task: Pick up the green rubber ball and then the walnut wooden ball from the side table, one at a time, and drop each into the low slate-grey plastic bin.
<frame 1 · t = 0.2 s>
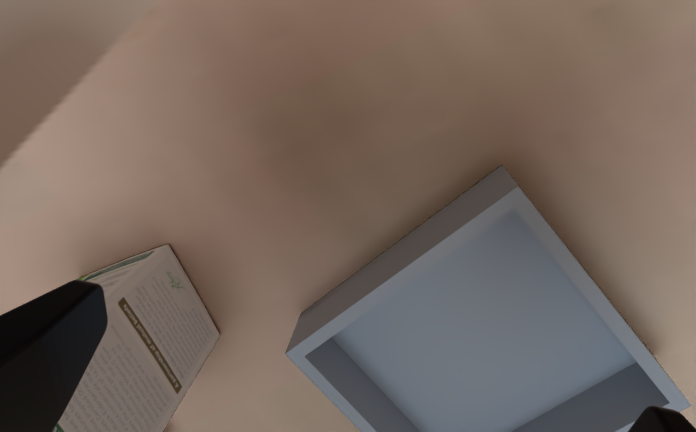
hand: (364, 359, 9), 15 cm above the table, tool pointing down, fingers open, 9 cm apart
bin: (472, 334, 25), on the table
syrup box: (153, 305, 27), on the table
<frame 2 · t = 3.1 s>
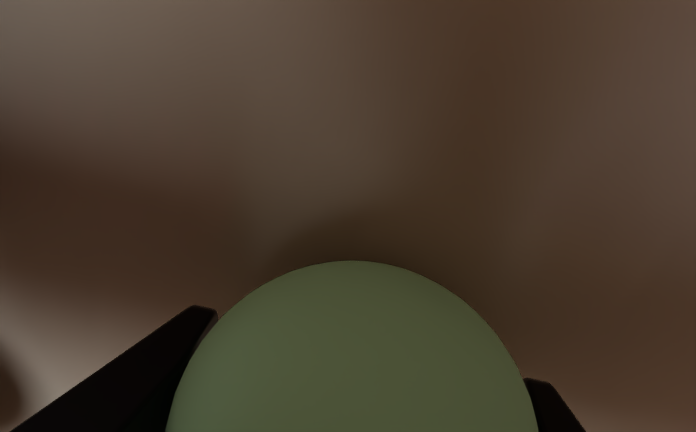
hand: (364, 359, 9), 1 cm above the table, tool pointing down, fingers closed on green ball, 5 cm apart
green ball: (371, 315, 9), on the table, touching gripper
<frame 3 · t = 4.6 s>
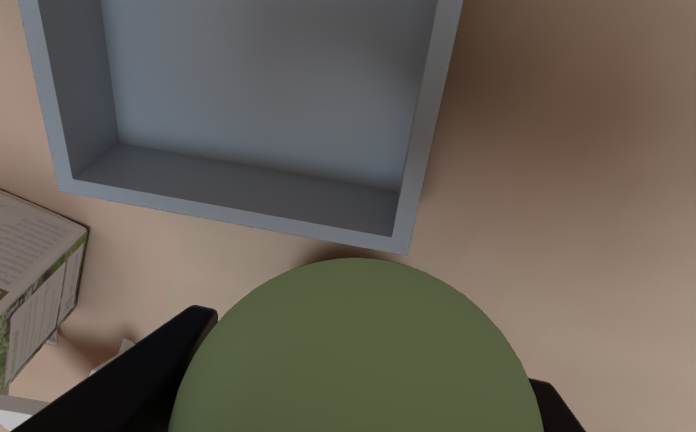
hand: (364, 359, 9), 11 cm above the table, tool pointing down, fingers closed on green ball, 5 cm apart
green ball: (374, 313, 9), point 10 cm above the table, touching gripper
origami figure: (148, 380, 29), on the table
bin: (264, 14, 17), on the table
syrup box: (31, 244, 24), on the table
when the fingers open (5 cm above the table, at t = 6.3 s): green ball drops 3 cm, resting on bin.
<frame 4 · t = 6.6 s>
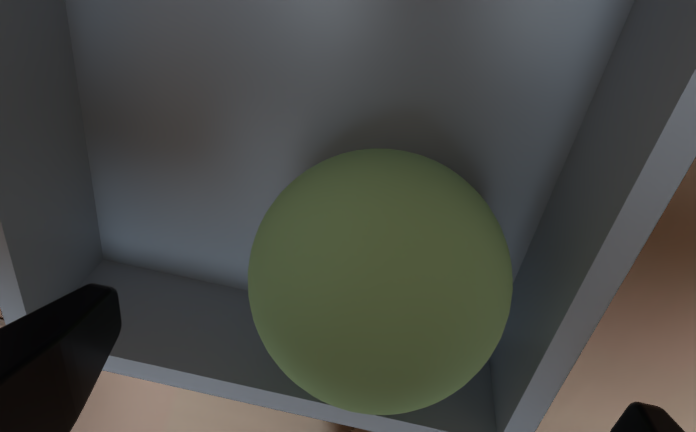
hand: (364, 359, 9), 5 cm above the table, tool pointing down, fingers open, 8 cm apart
green ball: (388, 210, 12), resting on bin
bin: (318, 109, 12), on the table
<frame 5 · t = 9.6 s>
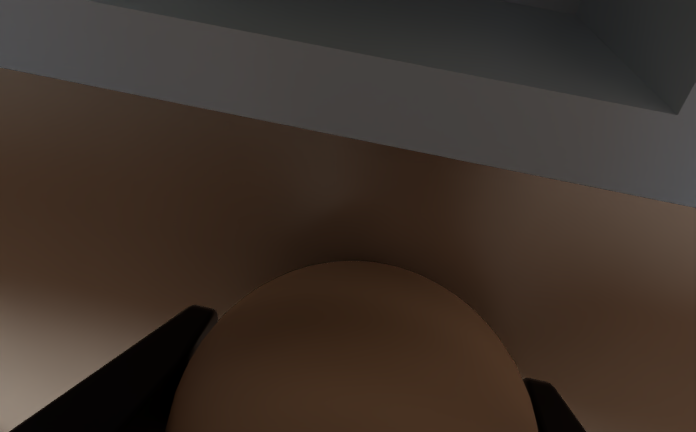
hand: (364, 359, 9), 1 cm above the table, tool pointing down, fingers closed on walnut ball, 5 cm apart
walnut ball: (371, 315, 9), on the table, touching gripper
when the fingers open (5 cm above the table, at t = 12.9 s): walnut ball drops 4 cm, resting on bin.
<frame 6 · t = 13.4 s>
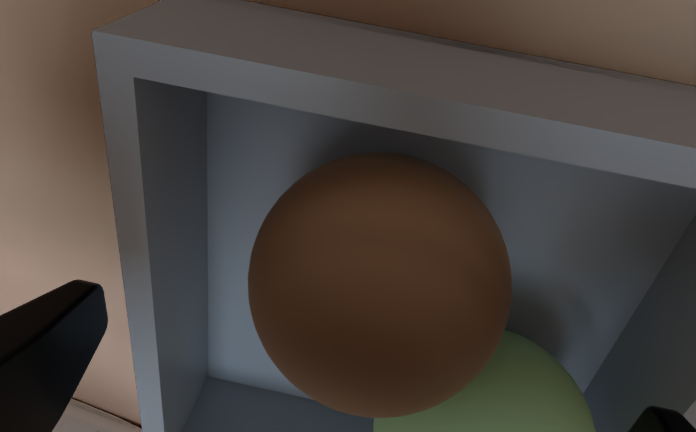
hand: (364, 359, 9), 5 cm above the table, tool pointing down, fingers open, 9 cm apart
green ball: (468, 352, 14), point 1 cm above the table, touching bin
bin: (412, 272, 14), on the table
walnut ball: (387, 212, 12), resting on bin
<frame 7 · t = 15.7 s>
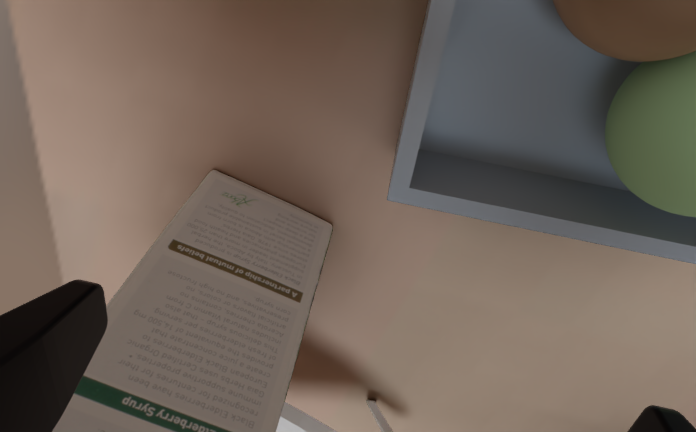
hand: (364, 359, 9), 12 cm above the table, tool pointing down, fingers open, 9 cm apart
green ball: (665, 96, 17), point 1 cm above the table, touching bin
origami figure: (301, 363, 27), on the table
bin: (624, 19, 16), on the table
syrup box: (256, 240, 23), on the table
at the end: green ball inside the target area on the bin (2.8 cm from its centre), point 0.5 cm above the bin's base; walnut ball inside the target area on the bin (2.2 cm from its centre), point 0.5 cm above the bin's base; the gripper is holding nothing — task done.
